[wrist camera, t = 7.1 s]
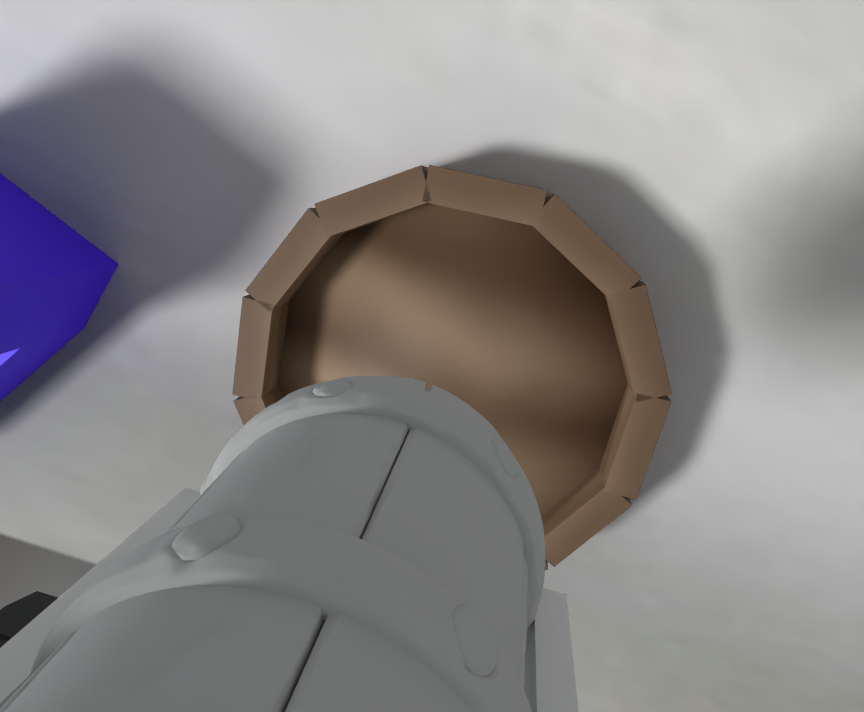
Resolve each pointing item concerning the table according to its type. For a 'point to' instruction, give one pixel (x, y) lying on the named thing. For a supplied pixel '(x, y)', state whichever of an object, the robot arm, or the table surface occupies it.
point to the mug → (320, 572)
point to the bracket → (42, 284)
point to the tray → (473, 329)
